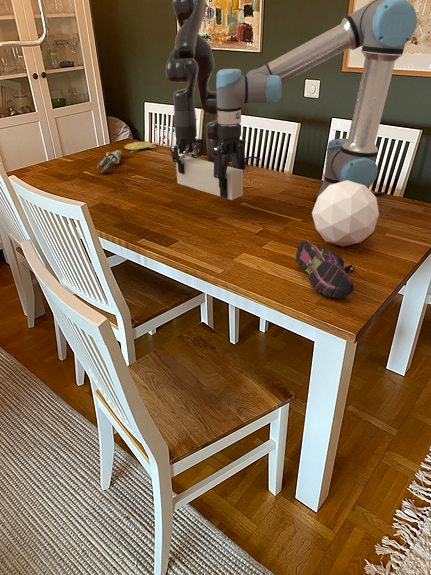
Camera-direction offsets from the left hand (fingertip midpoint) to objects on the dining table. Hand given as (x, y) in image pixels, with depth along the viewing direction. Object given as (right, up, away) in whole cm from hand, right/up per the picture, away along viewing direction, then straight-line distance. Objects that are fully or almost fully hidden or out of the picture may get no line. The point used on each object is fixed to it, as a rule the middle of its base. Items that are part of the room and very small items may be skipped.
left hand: (188, 171), depth 161 cm
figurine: (-41, +17, +53) cm, 69 cm away
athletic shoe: (+41, -41, -41) cm, 71 cm away
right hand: (+15, -11, -10) cm, 21 cm away
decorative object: (-31, +33, +79) cm, 91 cm away
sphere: (+50, -28, -21) cm, 61 cm away
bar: (+8, -7, -4) cm, 11 cm away
